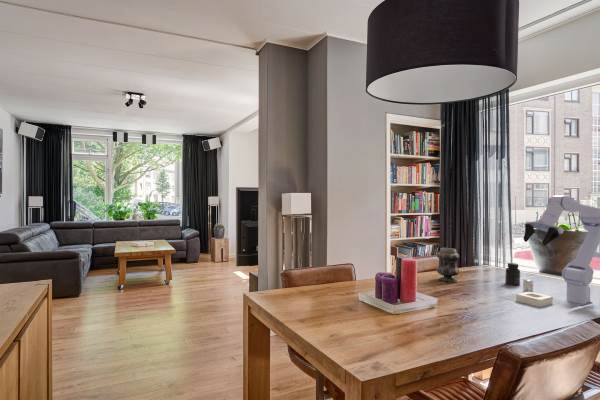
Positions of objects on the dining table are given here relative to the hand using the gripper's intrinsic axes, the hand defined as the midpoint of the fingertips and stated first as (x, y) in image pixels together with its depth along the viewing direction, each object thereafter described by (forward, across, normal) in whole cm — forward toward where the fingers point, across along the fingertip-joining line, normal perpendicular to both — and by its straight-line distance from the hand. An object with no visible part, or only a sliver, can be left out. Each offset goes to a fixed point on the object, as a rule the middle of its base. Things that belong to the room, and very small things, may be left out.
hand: (534, 242), depth 151 cm
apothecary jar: (+18, -50, +31) cm, 62 cm away
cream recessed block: (+14, -4, +28) cm, 32 cm away
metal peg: (+9, -10, +32) cm, 35 cm away
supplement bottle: (+2, -26, +45) cm, 52 cm away
